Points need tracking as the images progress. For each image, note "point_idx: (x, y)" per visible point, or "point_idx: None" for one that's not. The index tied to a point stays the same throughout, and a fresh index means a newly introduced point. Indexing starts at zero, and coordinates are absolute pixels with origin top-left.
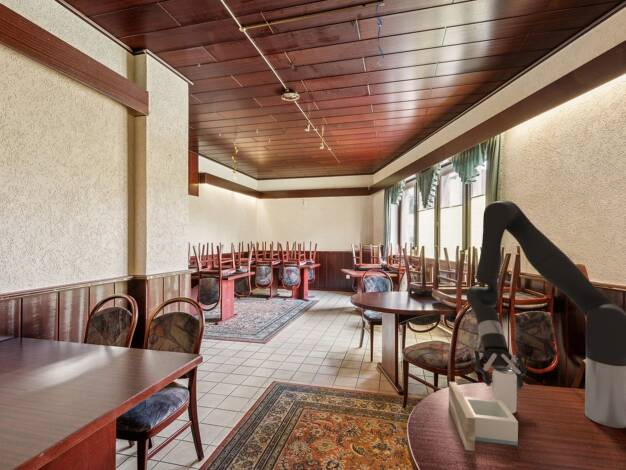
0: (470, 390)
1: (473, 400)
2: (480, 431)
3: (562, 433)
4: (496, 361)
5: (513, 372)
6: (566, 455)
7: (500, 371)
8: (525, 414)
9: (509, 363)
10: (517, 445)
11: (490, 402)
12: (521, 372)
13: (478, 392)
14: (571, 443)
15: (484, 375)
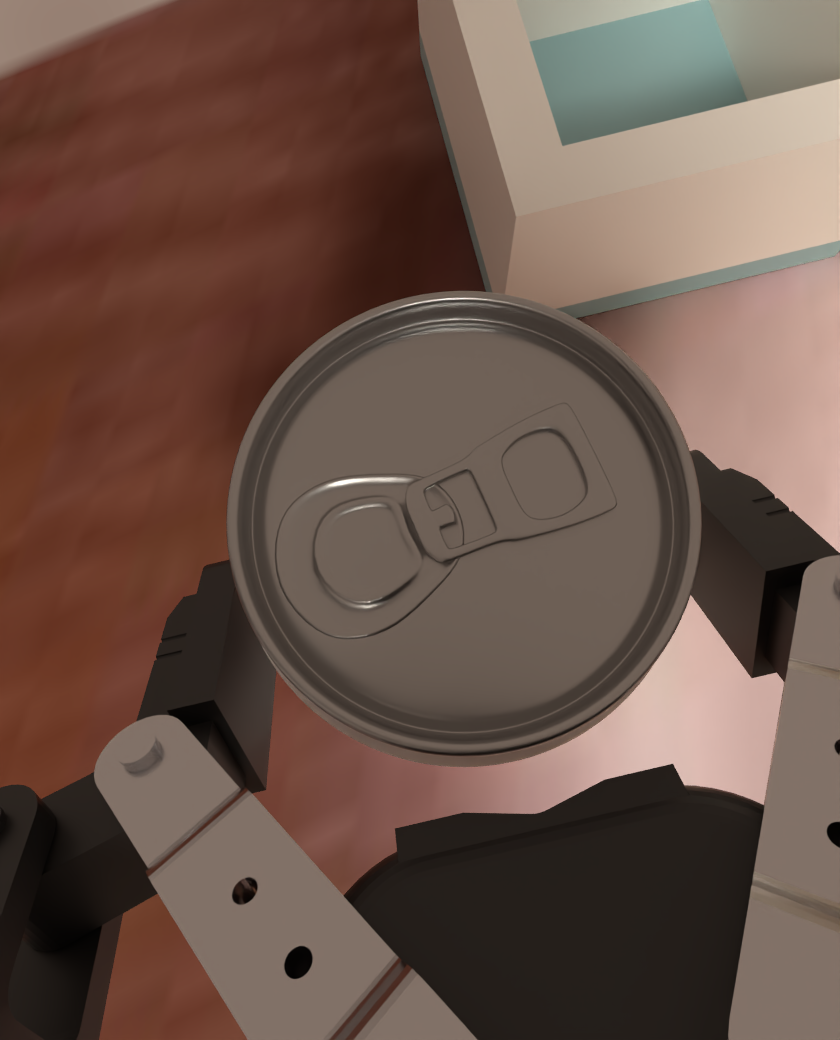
0: None
1: (824, 87)
2: None
3: (61, 364)
4: (659, 890)
5: (270, 494)
6: (135, 90)
7: (552, 410)
8: None
9: (279, 877)
10: (421, 53)
11: (638, 137)
12: (80, 804)
13: None
14: (48, 249)
15: (805, 525)
